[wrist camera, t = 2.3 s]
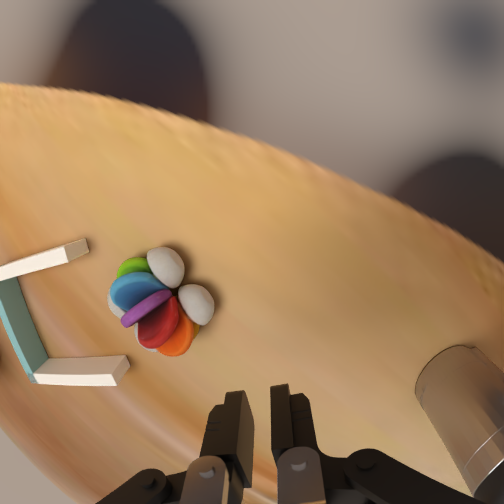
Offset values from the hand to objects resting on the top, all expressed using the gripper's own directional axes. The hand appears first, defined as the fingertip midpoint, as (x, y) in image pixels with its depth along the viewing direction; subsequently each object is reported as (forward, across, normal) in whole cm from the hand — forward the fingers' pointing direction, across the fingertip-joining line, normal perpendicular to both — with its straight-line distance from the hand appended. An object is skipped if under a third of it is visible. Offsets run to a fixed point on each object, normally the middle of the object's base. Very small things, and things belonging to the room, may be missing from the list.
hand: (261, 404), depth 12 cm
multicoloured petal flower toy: (+17, +10, 0) cm, 20 cm away
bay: (+17, +24, 0) cm, 29 cm away
